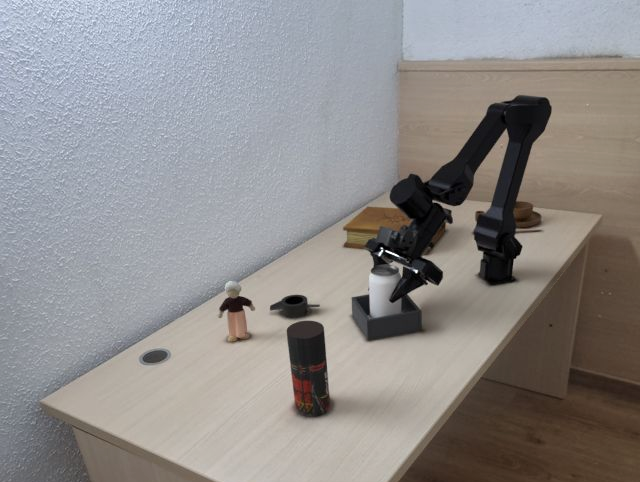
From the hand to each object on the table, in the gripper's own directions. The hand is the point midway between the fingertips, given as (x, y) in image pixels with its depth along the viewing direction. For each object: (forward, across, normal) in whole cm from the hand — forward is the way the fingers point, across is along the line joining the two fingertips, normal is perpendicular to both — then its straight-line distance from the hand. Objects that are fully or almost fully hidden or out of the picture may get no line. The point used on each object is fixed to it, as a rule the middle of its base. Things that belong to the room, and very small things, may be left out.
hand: (380, 296), depth 124 cm
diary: (-20, -36, +29) cm, 51 cm away
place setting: (-41, -24, +50) cm, 69 cm away
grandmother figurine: (+22, -16, -13) cm, 30 cm away
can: (+4, 0, +6) cm, 7 cm away
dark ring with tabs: (+12, -17, -2) cm, 21 cm away
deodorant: (+24, +15, -14) cm, 31 cm away
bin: (+4, 0, +6) cm, 7 cm away
